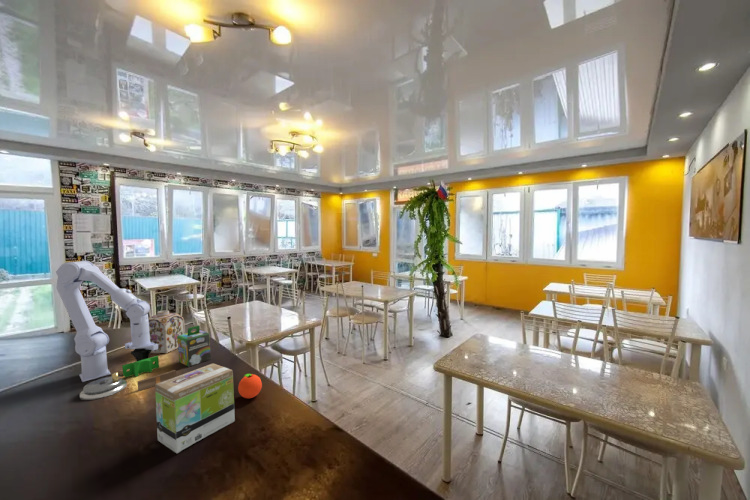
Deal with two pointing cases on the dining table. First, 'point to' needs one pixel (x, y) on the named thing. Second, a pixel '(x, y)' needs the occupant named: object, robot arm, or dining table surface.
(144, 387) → the bar
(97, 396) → the base plate
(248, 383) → the clementine
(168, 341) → the decorative jar
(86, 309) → the robot arm
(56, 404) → the dining table surface
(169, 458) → the dining table surface
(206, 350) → the chalk box
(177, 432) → the tea box
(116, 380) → the index disc
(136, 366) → the pipe clamp
